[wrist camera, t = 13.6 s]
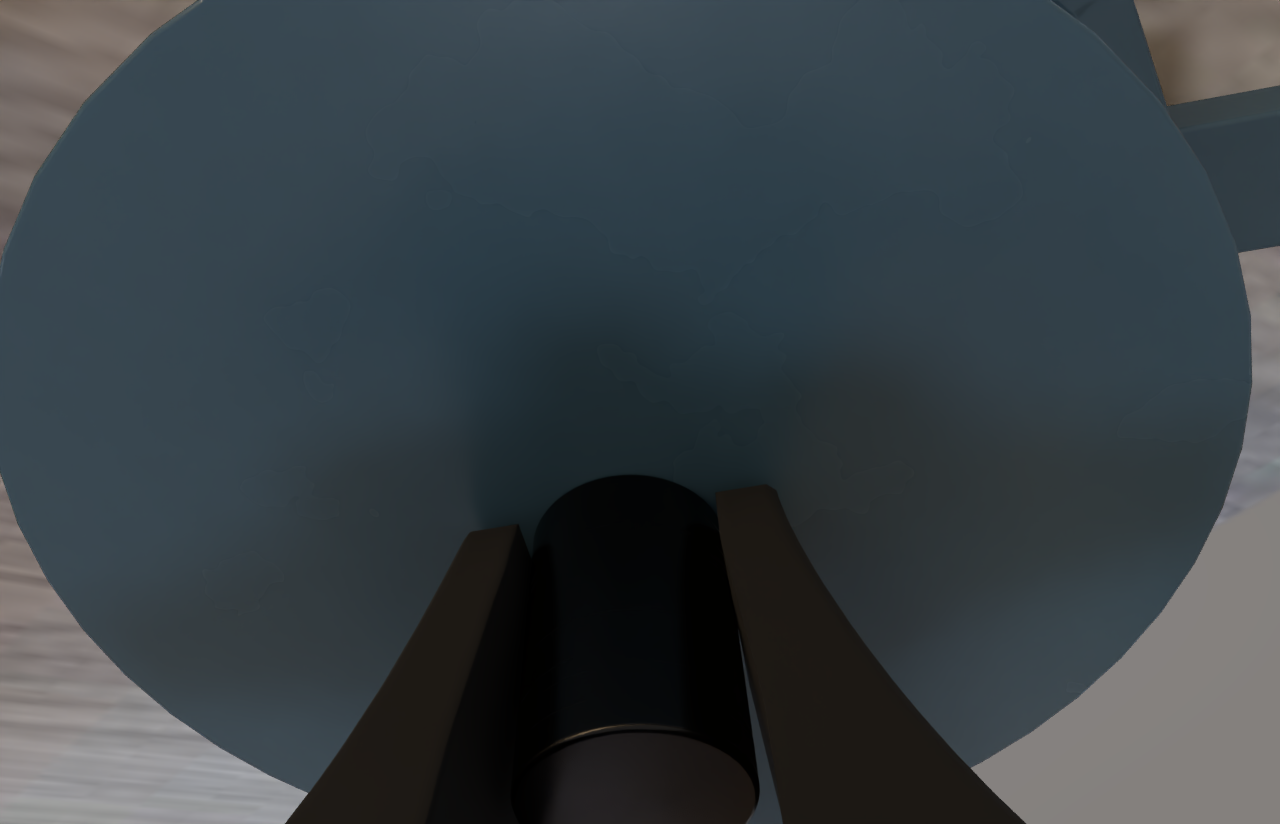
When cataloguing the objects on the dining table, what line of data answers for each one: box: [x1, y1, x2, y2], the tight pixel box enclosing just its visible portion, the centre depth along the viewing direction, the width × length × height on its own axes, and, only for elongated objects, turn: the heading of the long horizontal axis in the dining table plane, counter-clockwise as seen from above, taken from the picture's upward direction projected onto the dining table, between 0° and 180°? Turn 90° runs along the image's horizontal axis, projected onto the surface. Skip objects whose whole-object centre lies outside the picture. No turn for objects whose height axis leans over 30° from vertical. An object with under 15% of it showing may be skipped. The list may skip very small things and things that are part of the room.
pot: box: [1052, 0, 1280, 253], centre depth 17 cm, size 14×19×6 cm
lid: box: [0, 0, 1252, 824], centre depth 11 cm, size 15×15×5 cm
